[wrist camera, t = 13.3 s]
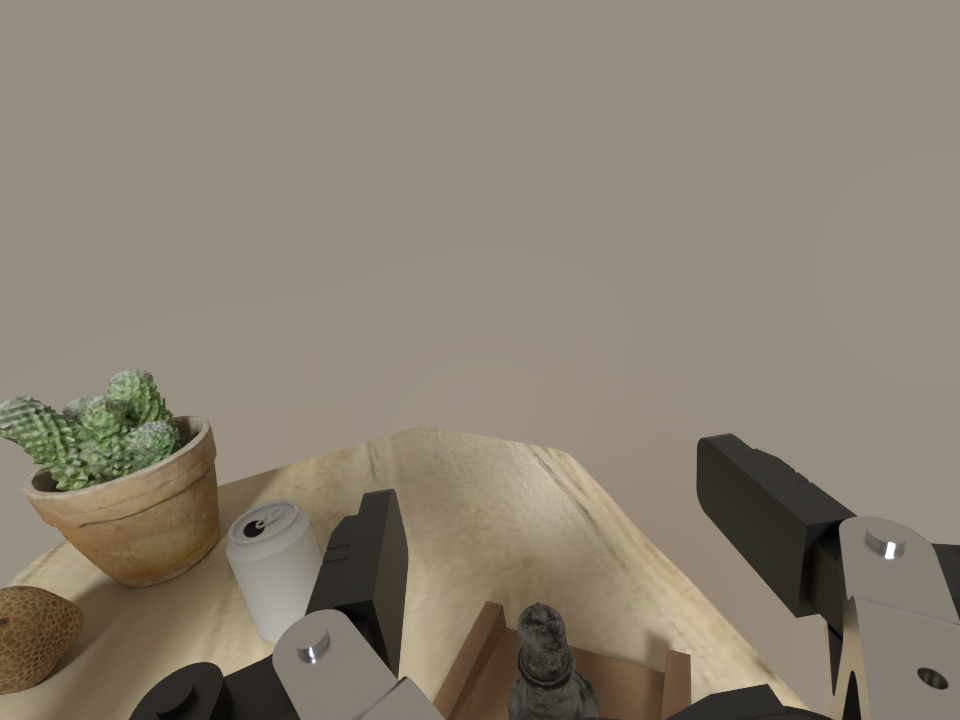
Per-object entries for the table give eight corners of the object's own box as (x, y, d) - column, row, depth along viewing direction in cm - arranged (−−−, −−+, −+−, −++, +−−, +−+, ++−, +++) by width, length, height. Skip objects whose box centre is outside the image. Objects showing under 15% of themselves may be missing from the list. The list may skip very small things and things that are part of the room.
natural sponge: (-59, 724, 41) (-121, 640, 38) (46, 635, 49) (2, 561, 46) (17, 733, 39) (-42, 646, 36) (113, 639, 47) (71, 562, 44)
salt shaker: (569, 682, 34) (552, 552, 31) (622, 761, 29) (610, 616, 25) (499, 724, 32) (472, 591, 29) (543, 817, 27) (517, 668, 23)
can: (252, 616, 47) (213, 519, 44) (322, 575, 51) (292, 484, 48) (269, 665, 42) (226, 559, 38) (347, 616, 46) (315, 515, 42)
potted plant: (187, 504, 71) (124, 351, 63) (278, 516, 64) (219, 346, 56) (49, 598, 55) (-59, 410, 47) (149, 629, 48) (42, 413, 40)
